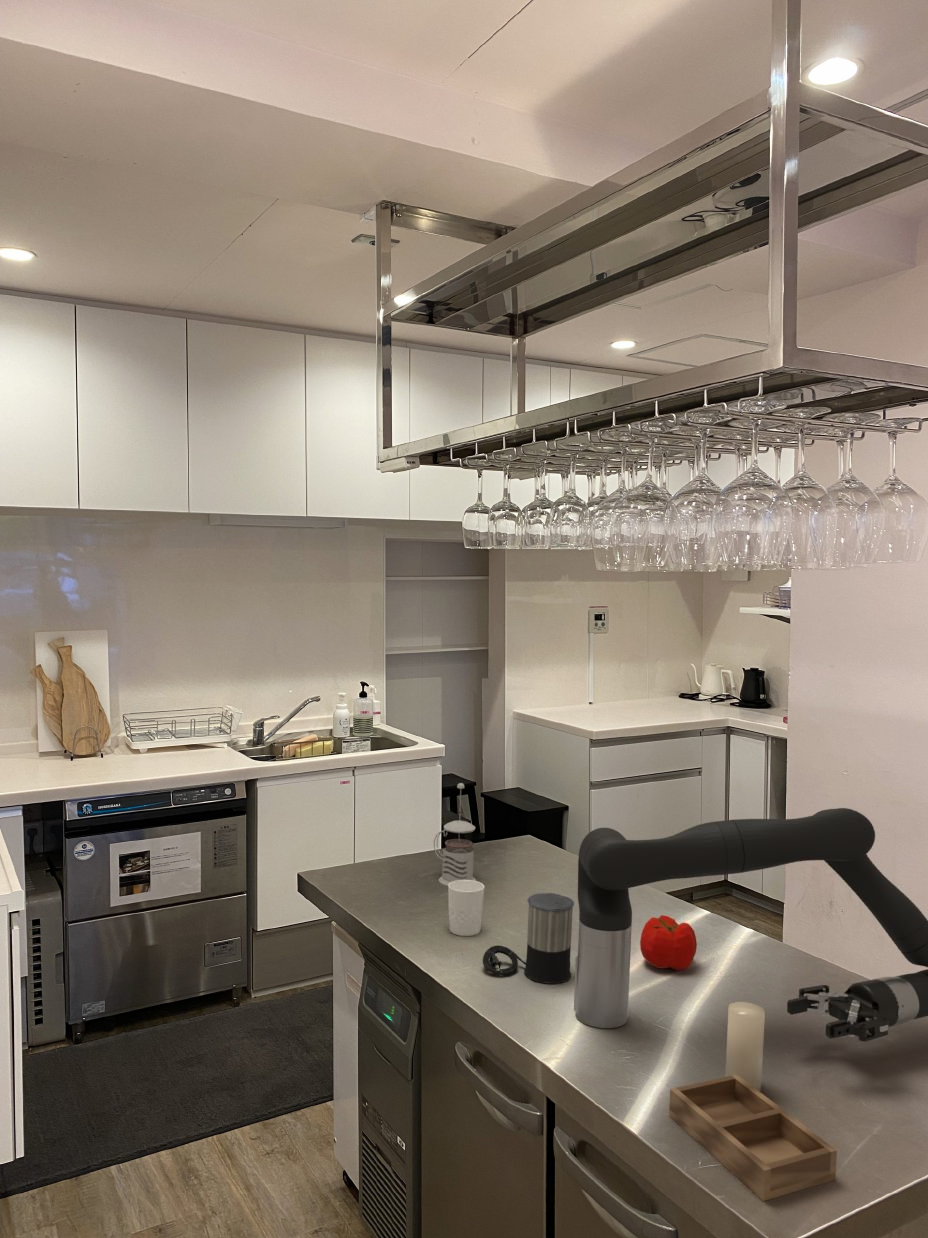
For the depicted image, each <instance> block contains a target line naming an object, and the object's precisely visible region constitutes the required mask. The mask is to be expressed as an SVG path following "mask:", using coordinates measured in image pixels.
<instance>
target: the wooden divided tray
mask: <svg viewBox="0 0 928 1238" xmlns="http://www.w3.org/2000/svg"><path fill="white" fill-rule="evenodd" d="M668 1108H669V1109H668V1110H669V1111H668V1116H669V1117H670V1118H671V1119H672V1120H673V1121H674V1122H675V1123H677V1125H679V1126H680V1127H681V1128H682V1129H683V1130H684V1131H685V1132H686V1133H687V1134H689V1135H690V1137H692V1138H693V1139H694V1140H695V1141H696V1142H698V1143H699V1145H700V1146H702V1147H703V1148H704V1149H705V1150H706V1151H707V1152H708V1153H709V1154H711V1156H713V1158H715V1159H716V1160H717V1161H718V1162H719V1163H721V1164H722V1165H723V1166H724V1167H725V1168H727V1169H728V1172H729V1171H730V1173H732V1175H734V1176H735V1177H736V1178H737V1179H738V1180H739V1181H740V1182H742V1184H744V1185H745V1186H746V1187H747V1188H748V1189H749V1190H750V1191H751V1192H753V1193H754V1194H755V1195H756V1196H757V1197H758V1198H759V1199H760V1200H761V1201H763V1202H765V1201H769V1200H772V1199H775V1198H778V1197H781V1196H785V1195H788V1194H793V1193H795V1192H796V1193H797V1192H799V1191H803V1190H805V1189H808V1188H809V1189H810V1188H812V1187H815V1186H818V1185H823V1184H825V1183H830V1182H833V1181H836V1171H837V1156H838V1155H837V1153H838V1150H837V1149H836V1148H835V1147H833V1146H832V1145H831V1144H829V1143H828V1142H826V1140H824V1139H823V1138H821V1137H820V1136H819V1135H817V1134H816V1133H815V1132H814V1131H812V1130H811V1129H809V1128H808V1127H807V1126H805V1125H804V1124H803V1123H801V1122H800V1121H799V1120H798V1119H796V1118H795V1117H794V1116H792V1115H791V1114H790V1113H789V1112H787V1111H786V1110H784V1108H782V1107H781V1106H779V1105H777V1103H775V1102H774V1101H772V1100H771V1099H770V1098H769V1097H767V1096H766V1095H765V1094H763V1093H762V1092H761V1091H760V1092H759V1091H758V1090H757V1089H755V1088H754V1087H753V1086H751V1085H750V1084H749V1083H747V1082H746V1081H745V1080H743V1079H742V1078H741V1077H739V1076H738V1075H737V1074H735V1075H730V1076H726V1077H725V1076H723V1077H718V1078H714V1079H708V1080H704V1081H700V1082H695V1083H692V1084H687V1085H683V1086H677V1087H674V1088H670V1090H669V1107H668Z"/></svg>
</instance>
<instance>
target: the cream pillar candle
mask: <svg viewBox="0 0 928 1238" xmlns="http://www.w3.org/2000/svg"><path fill="white" fill-rule="evenodd" d="M727 1010H728V1013H727V1031H726V1032H727V1034H726V1053H725V1056H726V1057H725V1071H724V1072H725V1076H724V1077H726V1076H730V1075H735V1074H737V1075H738V1076H739V1077H741V1078H742V1079H743V1080H745V1081H746V1082H747V1083H749V1084H750V1085H751V1086H753V1087H754V1088H755V1089H757V1090H758V1091H759V1092H760V1093H761V1090H762V1080H763V1079H762V1075H763V1074H762V1073H763V1060H764V1059H763V1056H764V1039H765V1017H766V1016H765V1015H766V1011H765V1010H764V1008H763V1007H761V1006H759V1005H757V1004H754V1003H753V1002H752V1003H751V1002H748V1001H747V1002H746V1001H735V1002H731V1003H730V1004H729V1005H728V1009H727Z"/></svg>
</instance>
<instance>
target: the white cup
mask: <svg viewBox="0 0 928 1238" xmlns="http://www.w3.org/2000/svg"><path fill="white" fill-rule="evenodd" d="M447 887H448V888H447V892H448V919H449V931H450V933H451V934H454V935H456V936H461V937H472V936H475V935H478V934H480V932H481V927H482V926H481V925H482V918H483V908H484V896H485V885H484V883H482V882H480V881H477V880H476V881H473V880H457V881H453V882H451V883H449V885H448V886H447Z"/></svg>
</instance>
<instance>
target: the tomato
mask: <svg viewBox="0 0 928 1238" xmlns="http://www.w3.org/2000/svg"><path fill="white" fill-rule="evenodd" d="M639 947H640V952H641V956H642V958H643V959H644V960H646V962H648V963H649V964H650V965H651V966H654V967H656V968H659V969H666V968H670V969H672V970H674V971H683V970H686V969H688V968H689V967H690V966H691V965H692V961H693V960H694V958H695V956H696V952H697V947H698V943H697V936H696V933H695V930H694V929H693V928H692V926H691V925H690V924H689V923H687V922H681V923H679V924H678V922H677V921H676V920H675V918H672V917H671V916H668V915H664V914H661V915H660V916H659V917H653V916H652V917H650V918H649V919H648V921H647V922H646V923H645V924H644V927H643V928H642V931H641V935H640V941H639Z"/></svg>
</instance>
